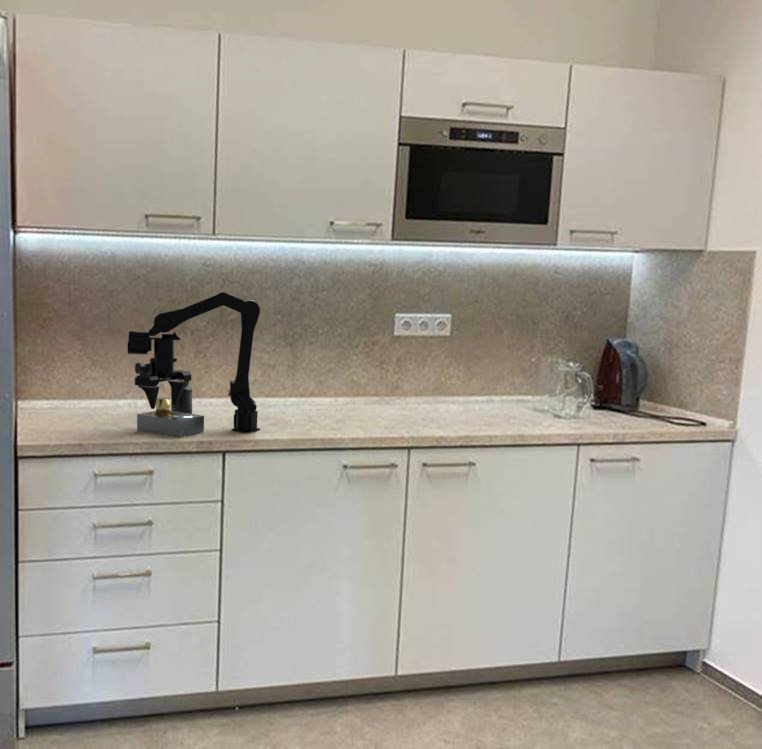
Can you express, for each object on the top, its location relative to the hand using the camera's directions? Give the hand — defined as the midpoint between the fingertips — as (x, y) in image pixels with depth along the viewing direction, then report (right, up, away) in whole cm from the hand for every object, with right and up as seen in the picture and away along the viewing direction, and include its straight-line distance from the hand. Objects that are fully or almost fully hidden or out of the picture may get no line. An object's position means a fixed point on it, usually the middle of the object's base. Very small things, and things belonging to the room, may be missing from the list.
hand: (163, 406), depth 258 cm
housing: (+2, -7, 0) cm, 8 cm away
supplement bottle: (-1, -4, +28) cm, 28 cm away
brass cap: (0, -6, +1) cm, 6 cm away
